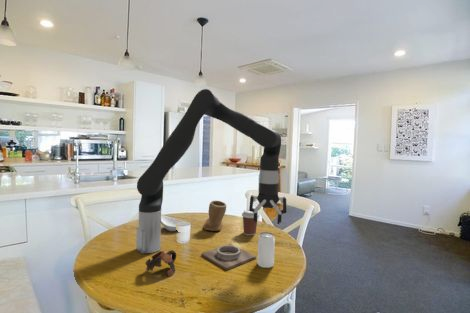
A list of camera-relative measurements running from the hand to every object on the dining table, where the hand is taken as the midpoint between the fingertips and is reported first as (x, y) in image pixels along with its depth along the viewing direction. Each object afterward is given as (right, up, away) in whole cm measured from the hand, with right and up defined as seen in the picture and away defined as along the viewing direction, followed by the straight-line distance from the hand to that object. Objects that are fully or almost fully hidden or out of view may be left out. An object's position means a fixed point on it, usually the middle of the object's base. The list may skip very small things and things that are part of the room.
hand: (267, 222), depth 99 cm
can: (-1, -17, +1) cm, 17 cm away
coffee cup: (-5, -15, +35) cm, 38 cm away
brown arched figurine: (-39, -16, -7) cm, 42 cm away
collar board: (-15, -16, +6) cm, 23 cm away
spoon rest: (-51, -13, +39) cm, 66 cm away
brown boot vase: (-24, -14, +42) cm, 50 cm away
